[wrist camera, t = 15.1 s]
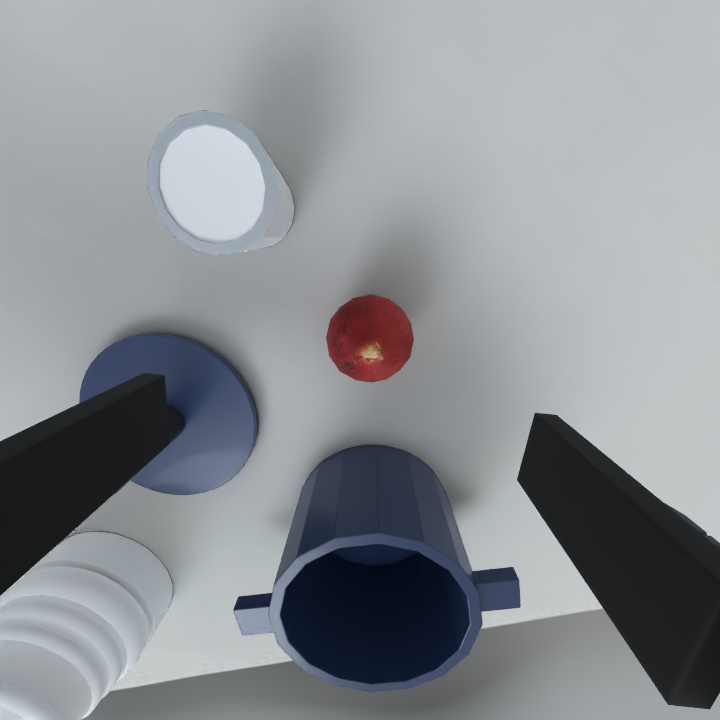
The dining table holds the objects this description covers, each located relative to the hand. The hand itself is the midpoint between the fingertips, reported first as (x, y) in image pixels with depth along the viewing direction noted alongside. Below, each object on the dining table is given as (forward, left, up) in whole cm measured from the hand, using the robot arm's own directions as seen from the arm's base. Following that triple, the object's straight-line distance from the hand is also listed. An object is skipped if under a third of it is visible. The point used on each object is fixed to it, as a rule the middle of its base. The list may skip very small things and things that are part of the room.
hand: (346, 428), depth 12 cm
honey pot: (+28, -23, -15) cm, 40 cm away
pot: (+16, +3, -15) cm, 22 cm away
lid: (+8, -15, -15) cm, 23 cm away
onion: (-1, +1, -15) cm, 15 cm away
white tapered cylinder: (-9, -8, -15) cm, 19 cm away
